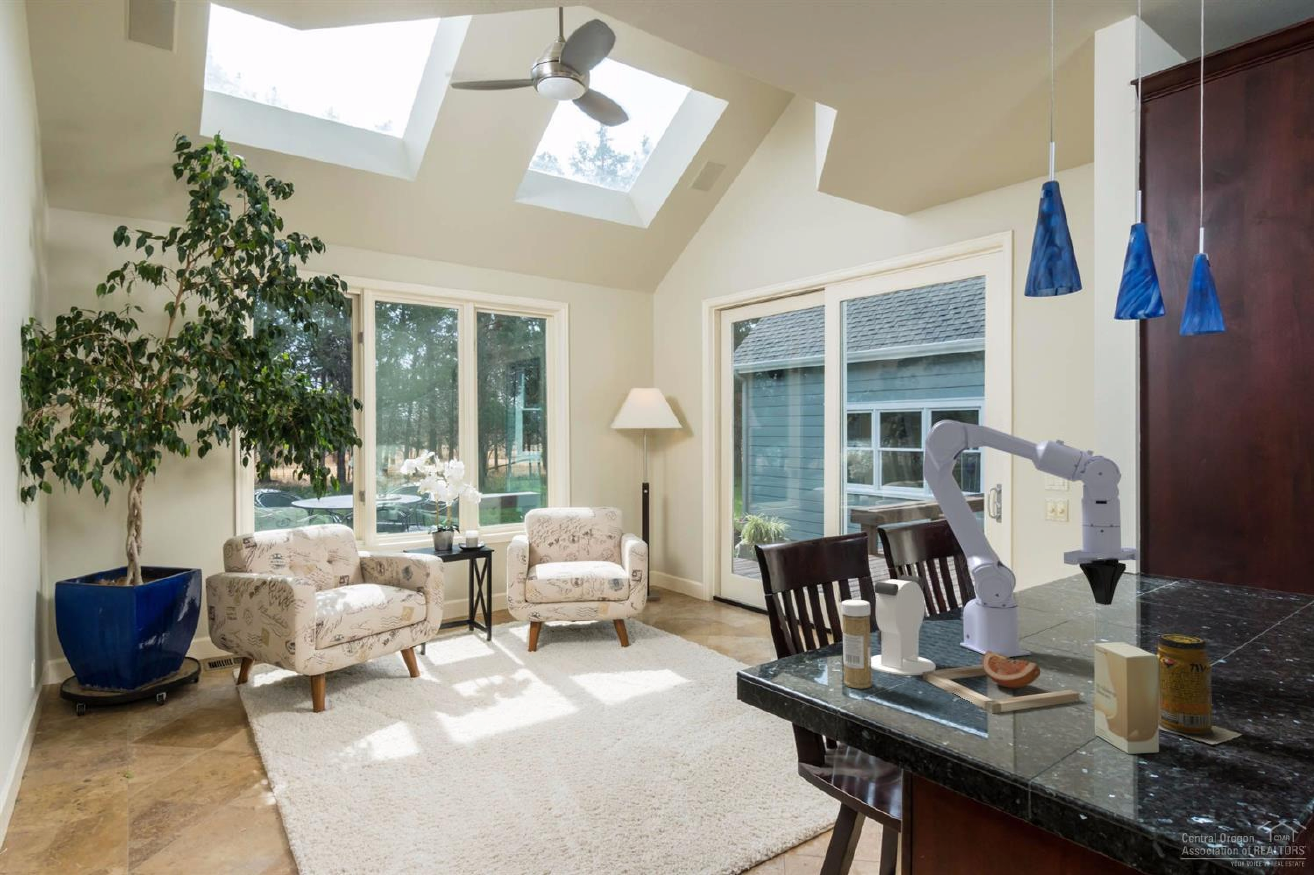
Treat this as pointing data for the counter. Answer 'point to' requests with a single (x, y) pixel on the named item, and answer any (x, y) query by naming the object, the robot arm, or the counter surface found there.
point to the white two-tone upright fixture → (900, 626)
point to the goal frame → (993, 706)
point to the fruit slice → (1009, 670)
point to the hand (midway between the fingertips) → (1103, 603)
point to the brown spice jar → (856, 643)
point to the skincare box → (1127, 697)
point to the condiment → (1187, 690)
